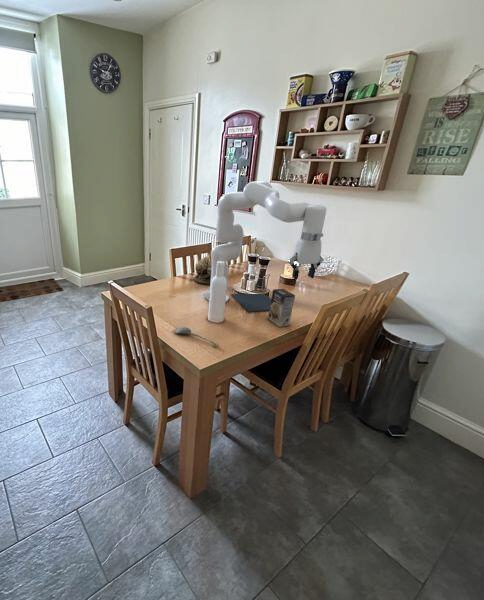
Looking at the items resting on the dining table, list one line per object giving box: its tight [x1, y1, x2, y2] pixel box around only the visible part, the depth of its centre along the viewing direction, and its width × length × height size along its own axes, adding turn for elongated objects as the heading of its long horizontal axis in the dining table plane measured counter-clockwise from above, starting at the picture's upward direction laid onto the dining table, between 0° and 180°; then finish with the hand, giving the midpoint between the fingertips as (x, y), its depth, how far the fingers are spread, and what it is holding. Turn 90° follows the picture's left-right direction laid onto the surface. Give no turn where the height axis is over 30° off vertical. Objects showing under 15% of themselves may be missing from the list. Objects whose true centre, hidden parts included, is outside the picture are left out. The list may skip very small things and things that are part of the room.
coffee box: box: [267, 288, 296, 327], centre depth 160 cm, size 9×6×16 cm
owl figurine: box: [193, 255, 212, 286], centre depth 212 cm, size 18×12×17 cm, turn 43°
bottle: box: [207, 261, 228, 324], centre depth 159 cm, size 8×8×30 cm
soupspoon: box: [174, 326, 219, 347], centre depth 146 cm, size 22×3×7 cm
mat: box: [230, 292, 272, 313], centre depth 185 cm, size 20×24×1 cm
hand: (302, 277), depth 141 cm, fingers open, 6 cm apart
